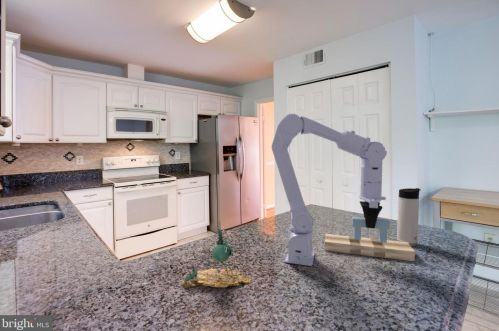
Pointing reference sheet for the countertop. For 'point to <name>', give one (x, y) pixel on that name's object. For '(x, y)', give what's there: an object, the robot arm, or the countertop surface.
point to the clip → (380, 224)
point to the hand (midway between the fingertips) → (369, 226)
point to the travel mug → (408, 215)
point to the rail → (369, 247)
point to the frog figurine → (216, 276)
